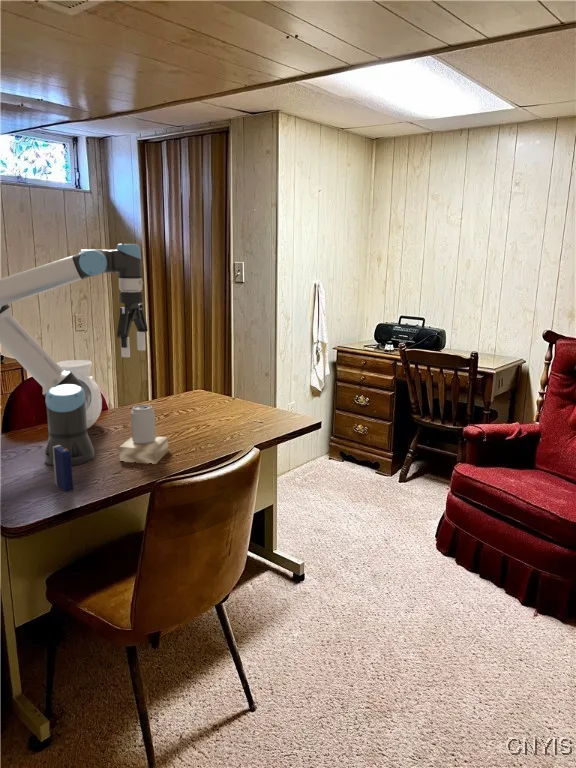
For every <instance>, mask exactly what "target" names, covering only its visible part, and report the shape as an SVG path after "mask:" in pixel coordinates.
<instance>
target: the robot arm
mask: <svg viewBox="0 0 576 768" xmlns="http://www.w3.org/2000/svg"><path fill="white" fill-rule="evenodd" d="M103 273H104V274H118V290H120V292H119V302H120V303H121V304H124V307H123V306H120V307H119V318H118V325H117V330H116V332H117V333H116V338H119V339H120V354H121V358H131V347H130V345H131V344H130V343H131V342H130V337H129V334H130V330H131V326H132V322H134V324H135V327H136V329H137V332H136V344H137V346H136V347H137V351H143V352H144V351H146V350H147V349H146V332H148V324H147V323H148V322H147V320H146V317H145V313H144V312H145V311H144V306H143V302H144V297H143V295H144V294H143V292H142V290H143V285H144V281H143V274H142V273H143V272H142V255H141V246H140V245H138V244H137V243H118V244H116V249H96V248H87V249H79V252H78V253H76V254H74V255H71V256H70V255H69V256H66V257H64V258H61V259H57V260H55V261H51V262H48V263H46V264H42V265H40V266H36V267H33V268H30V269H27V270H24V271H20V272H18V273H17V272H16V273H14V274H11V275H8V276H6V277H2V278H0V344H1V346H2V347H3V348H4V349H5V350H6V351H7V352H8V353H9V354H10V355H11V356H12V357H13V358H14V359H15V360H16V361H17V362H18V363H19V364H20V365H21V367H23V369H24V370H26V372H28V373H29V374H30V376H31V377H32V378H33V379H34V380H35V381H36V382H37V383H38V384H39V385H40V386H41V387H42V395H43V396H44V397H45V407H46V415H47V417H46V418H47V430H48V440H47V445H46V447H45V452H44V461H45V463H46V464H48V465H49V466H53V467H54V464H53V446H56V445H61V446H63V447H64V448H66V449H67V450H69V451H70V454H71V467H72V465H73V466H78V465H81V464H85V463H87V461H88V462H90V461H91V459H92V460H93V459H94V458H95V456H96V455H95V448H94V446H93V444H92V443H93V442H92V441H91V439H90V436H89V434H88V428H87V419H86V411H87V409H88V407H89V405H90V403H91V397H92V396H91V391H90V388H89V387H88V385H87V384H86V383H85V382H83V381H82V380H80V379H77V378H76V377H75V376H74V375H73V374H72V372H70V371H64V370H62V369H61V367H60V366H59V365H58V364H57V361H55V360H54V359H53V357H51V355H50V354H48V352H46V350H45V349H44V348H43V347H42V346H41V344H39V342H37V341H36V340H35V339H34V337H33V336H32V335H31V334H30V333H28V331H27V330H26V329H25V328H24V327H23V326H22V325H21V324H20V323H19V322H18V320H17V319H16V318H15V317H14V316H13V315H12V307H11V306H10V304H12V303H16V302H18V301H22V300H24V299H28V298H30V297H33V296H36V295H40V294H43V293H45V292H48V291H51V290H55V289H57V288H60V287H63V286H66V285H70V284H73V283H76V282H78V281H82V280H85V279H88V278H92V277H95V276H99V275H101V274H103Z"/></svg>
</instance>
